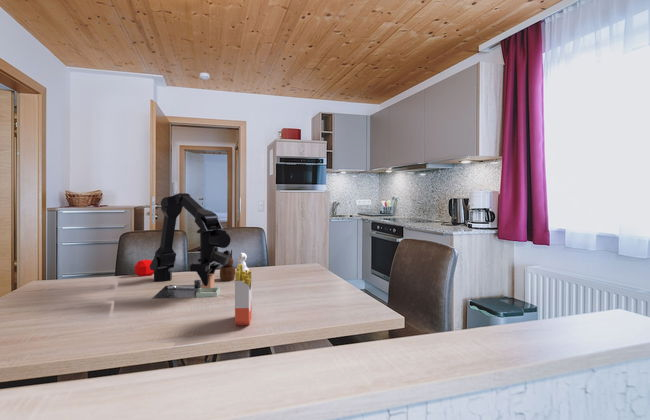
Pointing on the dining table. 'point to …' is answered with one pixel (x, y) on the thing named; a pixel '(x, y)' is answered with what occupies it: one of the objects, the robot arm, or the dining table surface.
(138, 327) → the dining table surface
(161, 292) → the base plate
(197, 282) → the crank
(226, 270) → the wooden figurine
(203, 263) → the robot arm
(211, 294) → the tray
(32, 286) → the dining table surface
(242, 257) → the sitting furry creature
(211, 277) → the block
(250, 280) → the french fries container
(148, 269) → the red piece
